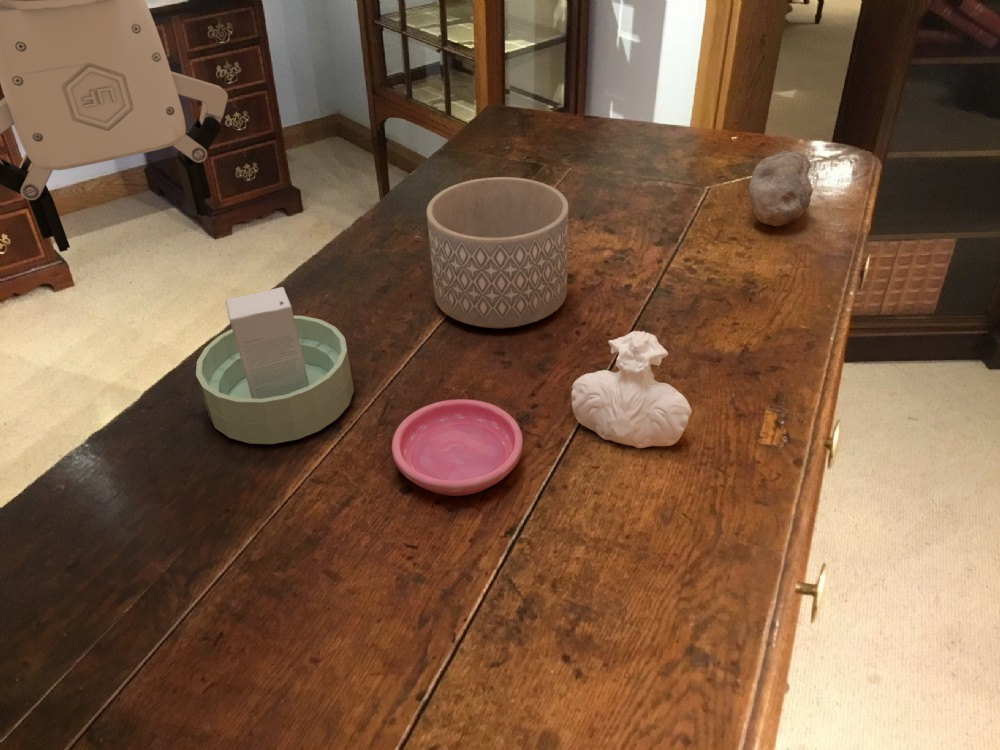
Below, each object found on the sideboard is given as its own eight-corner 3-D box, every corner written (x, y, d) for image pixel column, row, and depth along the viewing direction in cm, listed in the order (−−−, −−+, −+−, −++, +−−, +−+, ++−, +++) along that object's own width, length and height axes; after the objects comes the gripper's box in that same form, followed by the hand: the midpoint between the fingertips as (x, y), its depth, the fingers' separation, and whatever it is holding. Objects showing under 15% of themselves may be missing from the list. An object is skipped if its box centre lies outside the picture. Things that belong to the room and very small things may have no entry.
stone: (821, 202, 125) (835, 136, 119) (795, 244, 115) (809, 174, 109) (762, 190, 128) (772, 126, 122) (732, 230, 118) (742, 162, 112)
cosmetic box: (305, 379, 93) (285, 285, 86) (313, 401, 90) (292, 305, 83) (249, 393, 92) (224, 298, 84) (255, 416, 88) (229, 320, 81)
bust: (686, 457, 85) (711, 347, 85) (676, 461, 78) (703, 341, 78) (573, 428, 89) (596, 324, 89) (553, 430, 82) (579, 316, 82)
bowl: (236, 468, 83) (221, 421, 79) (193, 389, 94) (178, 344, 90) (377, 413, 89) (370, 367, 86) (322, 344, 100) (313, 300, 96)
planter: (419, 282, 110) (409, 191, 103) (535, 256, 115) (535, 167, 107) (460, 350, 98) (452, 252, 90) (589, 318, 102) (592, 222, 95)
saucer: (512, 415, 88) (511, 391, 86) (533, 500, 78) (533, 475, 76) (392, 429, 87) (389, 405, 85) (398, 517, 77) (394, 492, 75)
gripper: (-106, 2, 46) (9, 281, 56) (213, -39, 53) (264, 214, 63) (-111, -22, 51) (-5, 237, 61) (179, -55, 58) (231, 181, 68)
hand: (132, 226), depth 62 cm, fingers open, 9 cm apart
